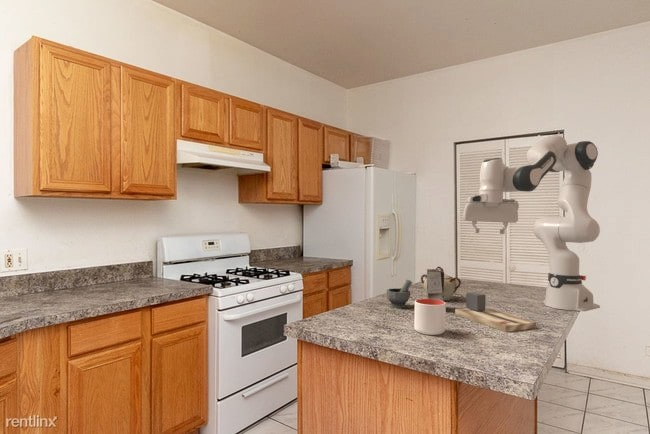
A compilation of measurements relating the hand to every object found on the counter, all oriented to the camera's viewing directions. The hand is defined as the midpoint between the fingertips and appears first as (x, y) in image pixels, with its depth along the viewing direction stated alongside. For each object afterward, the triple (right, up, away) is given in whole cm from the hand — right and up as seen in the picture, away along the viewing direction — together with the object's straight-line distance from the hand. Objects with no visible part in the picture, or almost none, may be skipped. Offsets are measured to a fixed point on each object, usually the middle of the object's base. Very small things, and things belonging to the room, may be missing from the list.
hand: (489, 233), depth 159 cm
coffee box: (-20, -32, +7) cm, 38 cm away
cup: (-30, -32, -25) cm, 51 cm away
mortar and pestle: (-34, -32, +10) cm, 47 cm away
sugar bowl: (-12, -32, +28) cm, 44 cm away
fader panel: (-3, -32, -10) cm, 34 cm away
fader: (-6, -29, -2) cm, 30 cm away
